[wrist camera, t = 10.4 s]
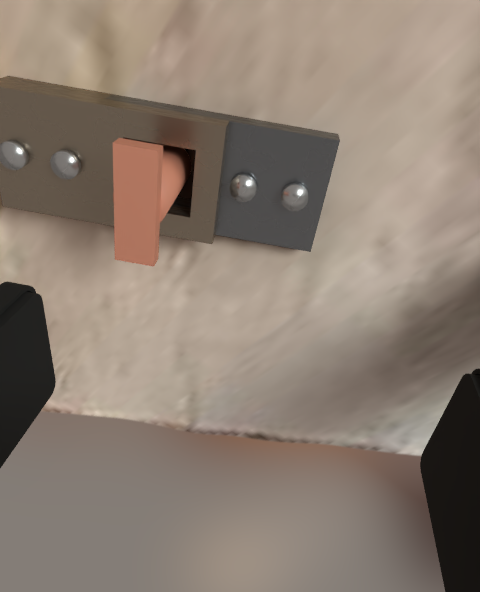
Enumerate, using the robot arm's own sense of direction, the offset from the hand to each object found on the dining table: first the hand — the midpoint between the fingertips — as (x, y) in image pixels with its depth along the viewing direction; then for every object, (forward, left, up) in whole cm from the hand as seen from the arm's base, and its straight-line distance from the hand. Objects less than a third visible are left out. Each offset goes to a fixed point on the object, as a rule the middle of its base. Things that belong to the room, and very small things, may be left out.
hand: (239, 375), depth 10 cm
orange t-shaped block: (+7, +4, -24) cm, 25 cm away
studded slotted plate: (+7, +4, -23) cm, 25 cm away
